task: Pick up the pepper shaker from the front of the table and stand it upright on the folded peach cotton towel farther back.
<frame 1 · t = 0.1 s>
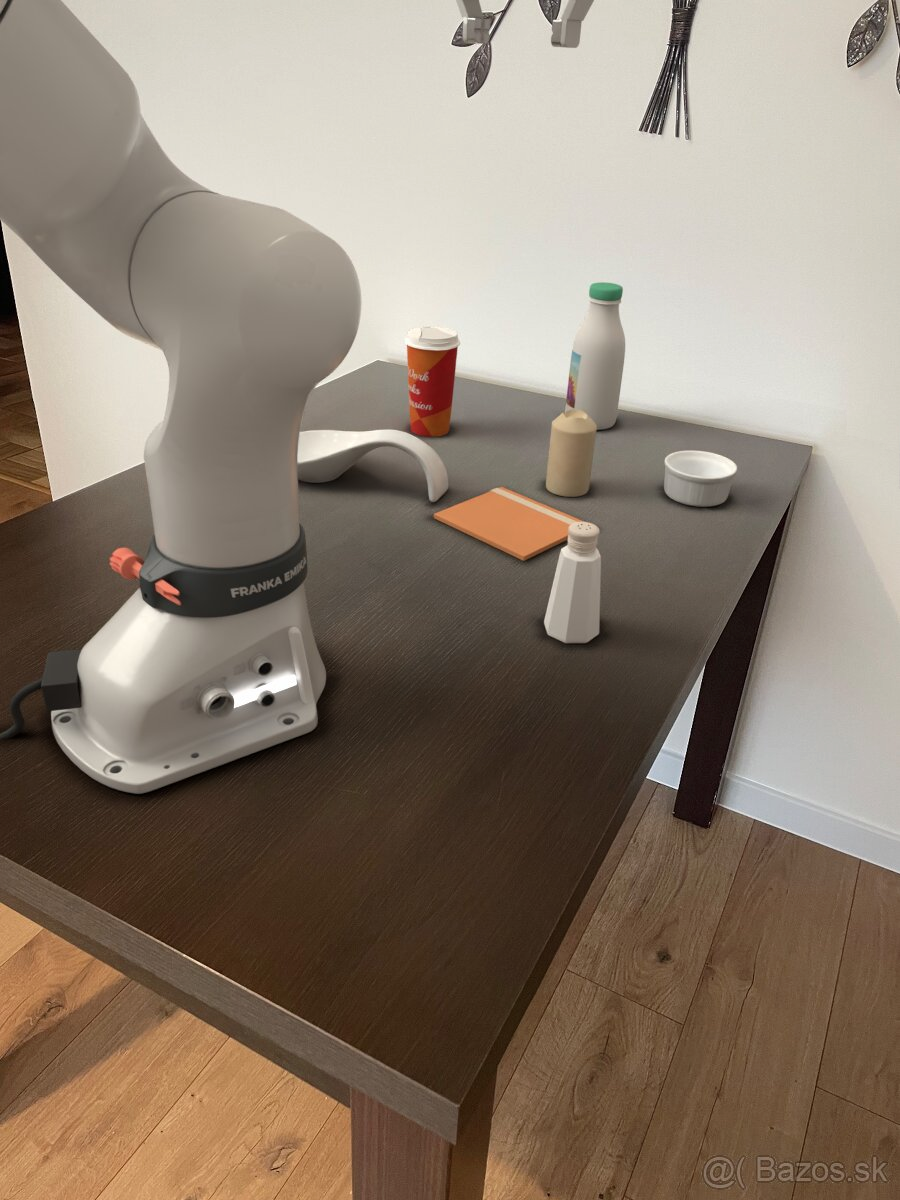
hand: (518, 45, 74), 48 cm above the table, tool pointing down, fingers open, 8 cm apart
pepper shaker: (570, 630, 89), on the table
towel: (511, 523, 108), on the table
milk bottle: (589, 423, 139), on the table
spoon rest: (355, 482, 117), on the table
ramekin: (694, 496, 117), on the table
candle: (566, 489, 117), on the table
paper cup: (429, 431, 133), on the table
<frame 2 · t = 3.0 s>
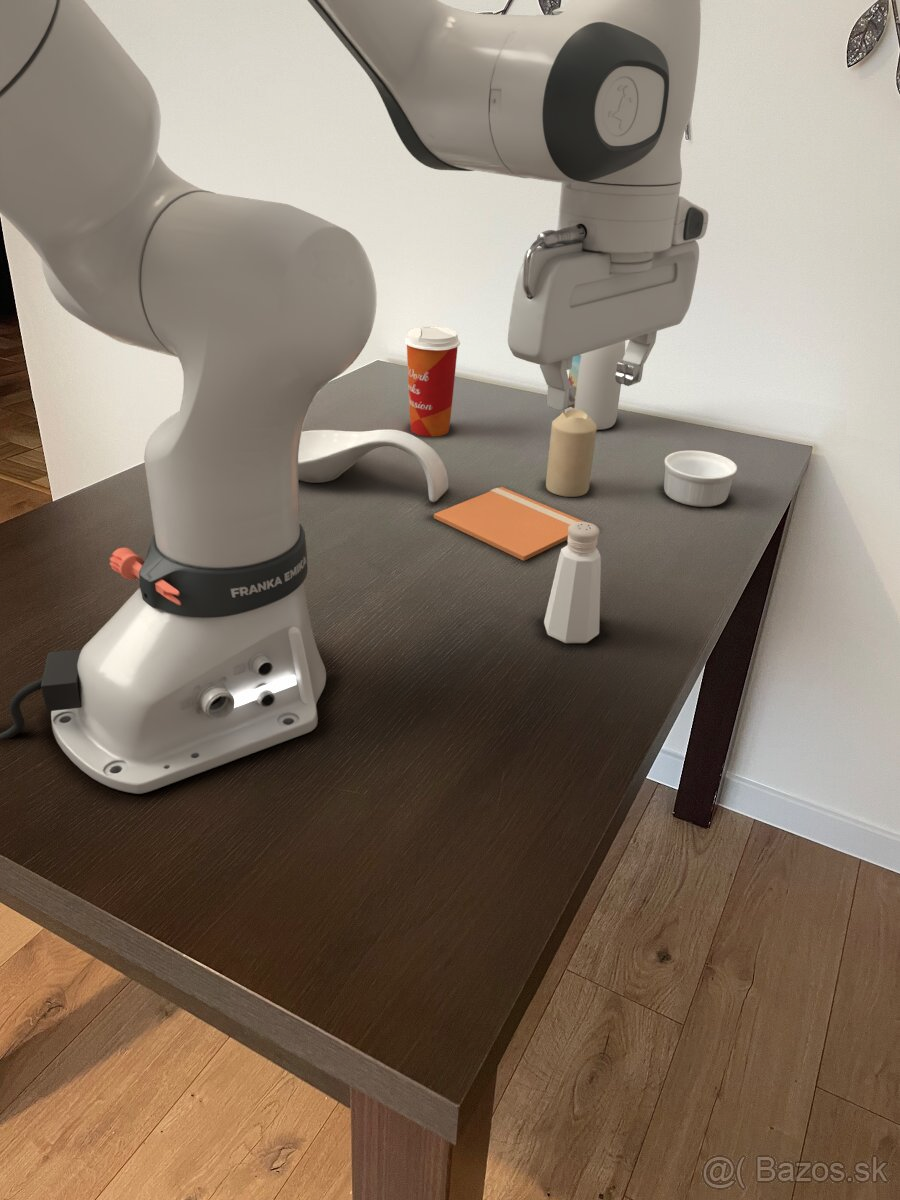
hand: (595, 394, 78), 23 cm above the table, tool pointing down, fingers open, 8 cm apart
nothing on the table moved.
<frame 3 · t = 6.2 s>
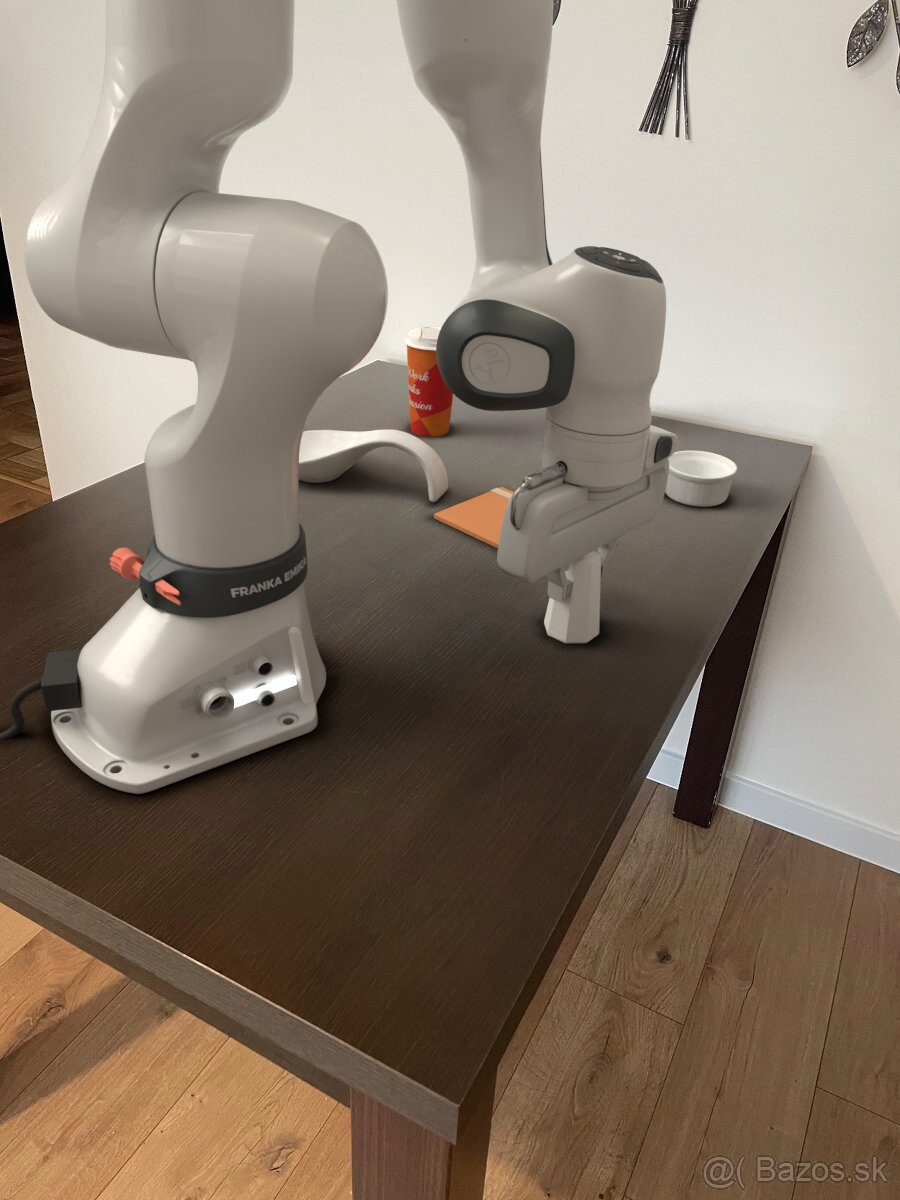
hand: (576, 588, 86), 5 cm above the table, tool pointing down, fingers closed on pepper shaker, 4 cm apart
pepper shaker: (570, 631, 89), on the table, touching gripper
everything else where it was.
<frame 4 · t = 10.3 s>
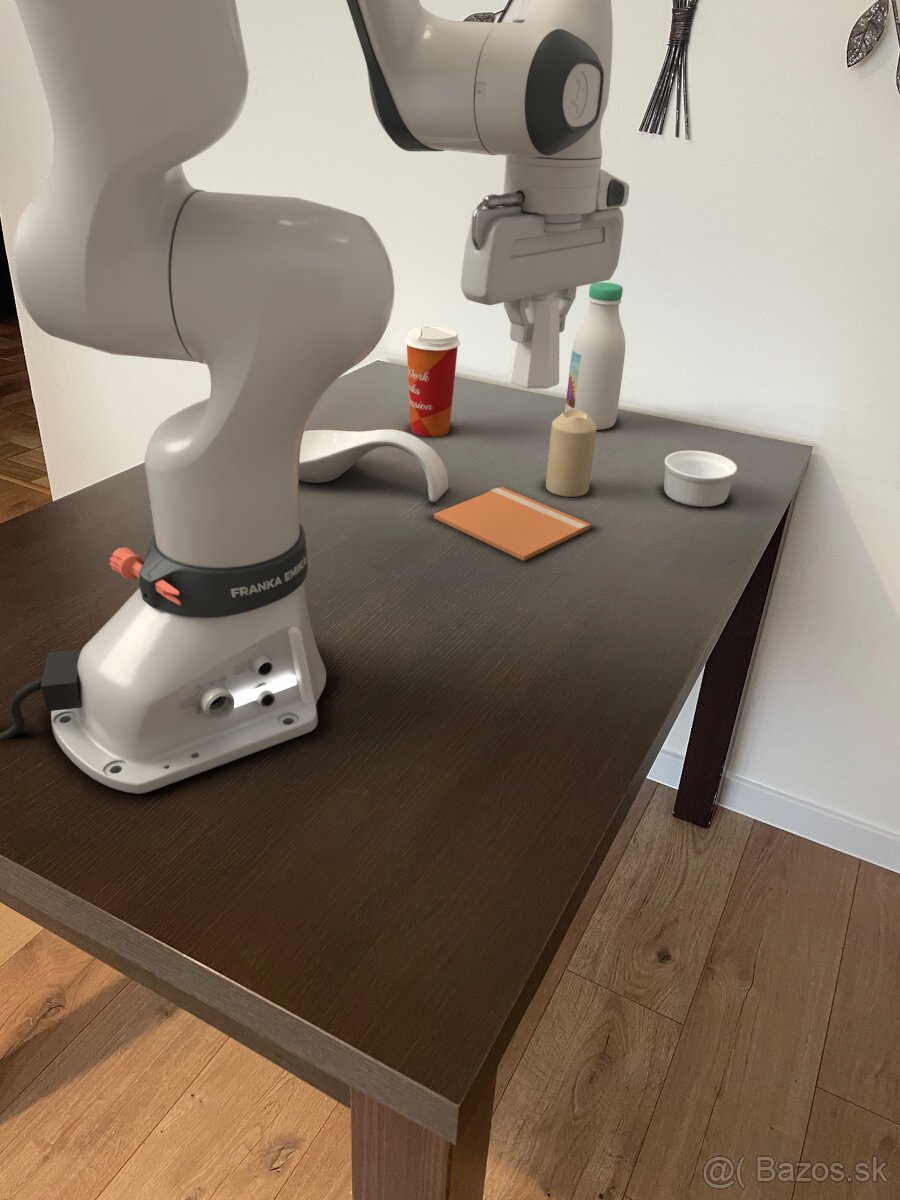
hand: (537, 336, 93), 23 cm above the table, tool pointing down, fingers closed on pepper shaker, 4 cm apart
pepper shaker: (533, 382, 96), point 18 cm above the table, touching gripper
everything else where it was.
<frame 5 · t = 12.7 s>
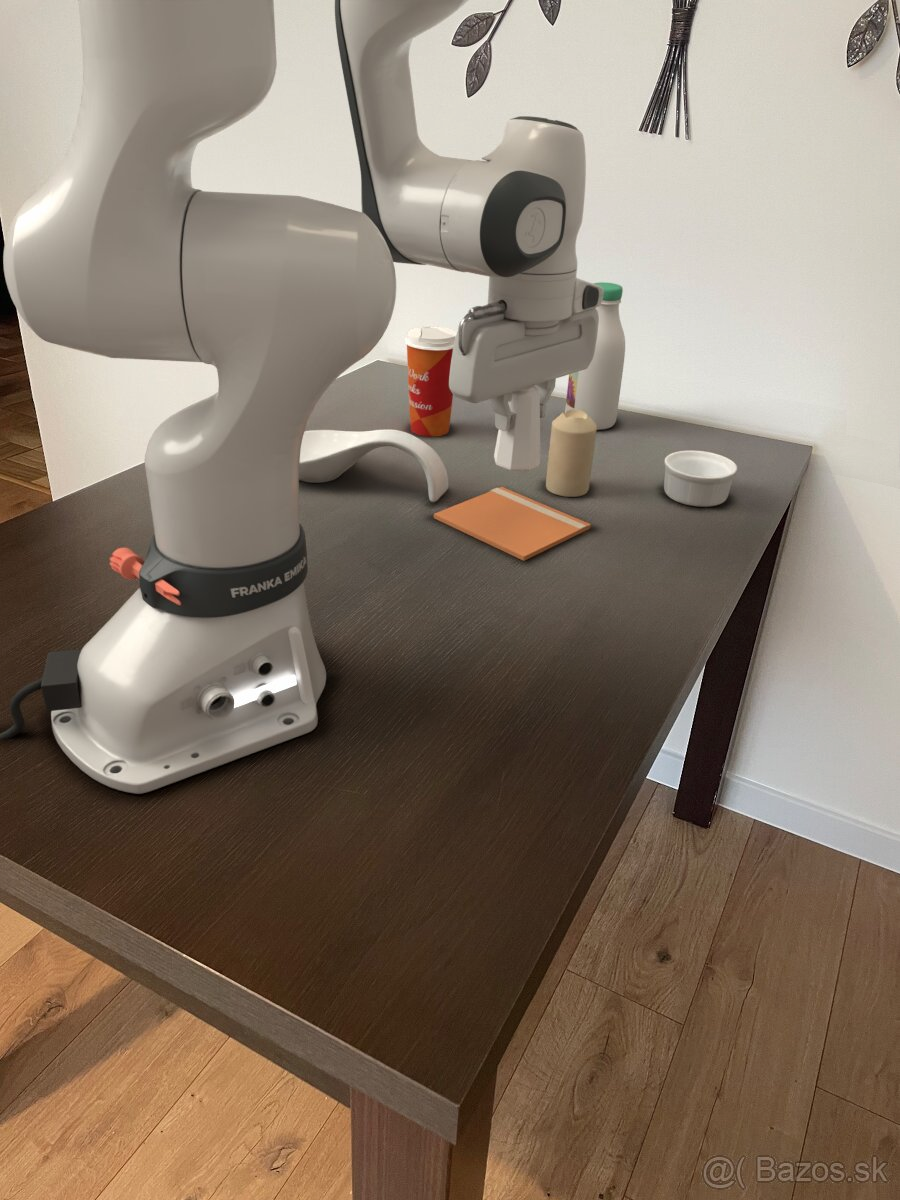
hand: (520, 423, 102), 12 cm above the table, tool pointing down, fingers closed on pepper shaker, 4 cm apart
pepper shaker: (516, 463, 104), point 8 cm above the table, touching gripper
everything else where it was.
when the fingers open (5 cm above the table, at t = 14.7 s): pepper shaker stays where it is, resting on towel.
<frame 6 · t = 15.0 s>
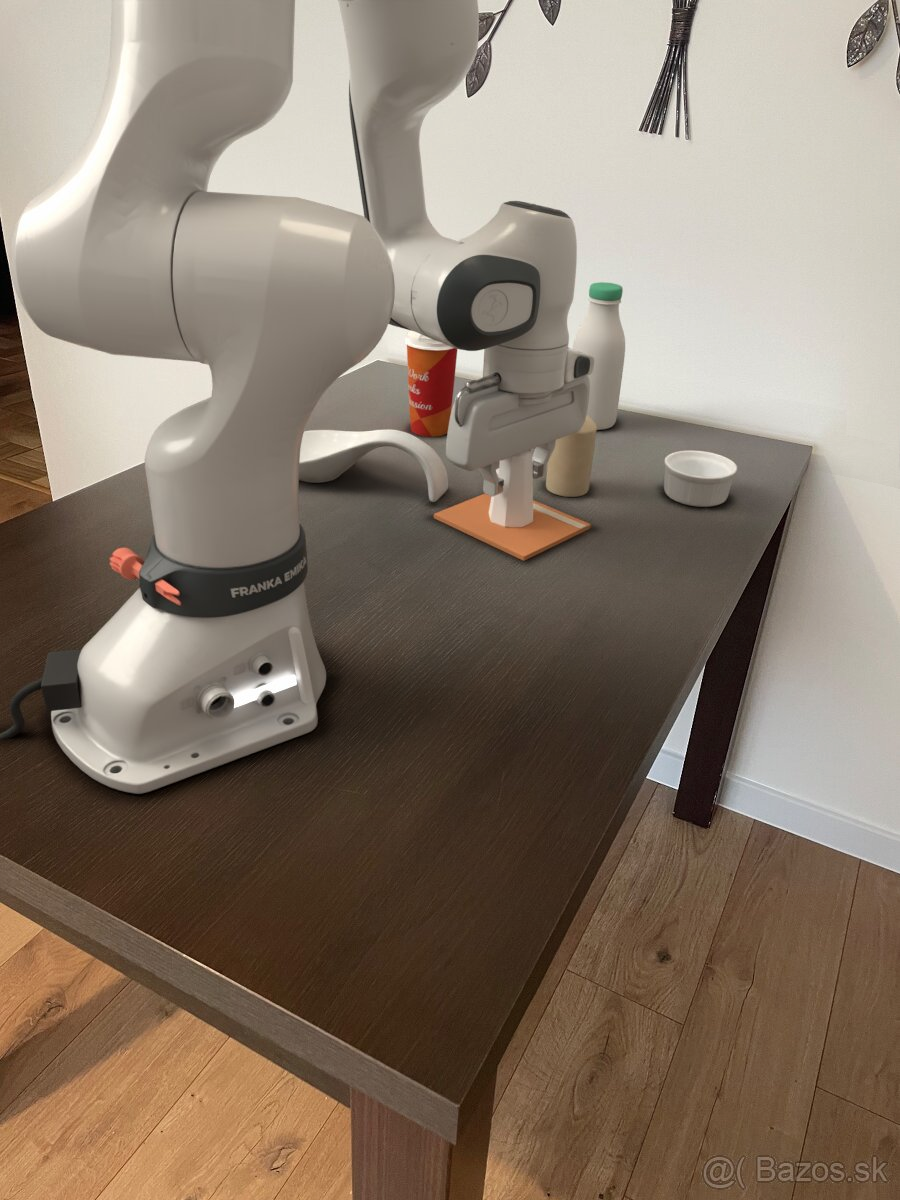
hand: (514, 484, 105), 5 cm above the table, tool pointing down, fingers open, 6 cm apart
pepper shaker: (510, 519, 108), resting on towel
everything else where it was.
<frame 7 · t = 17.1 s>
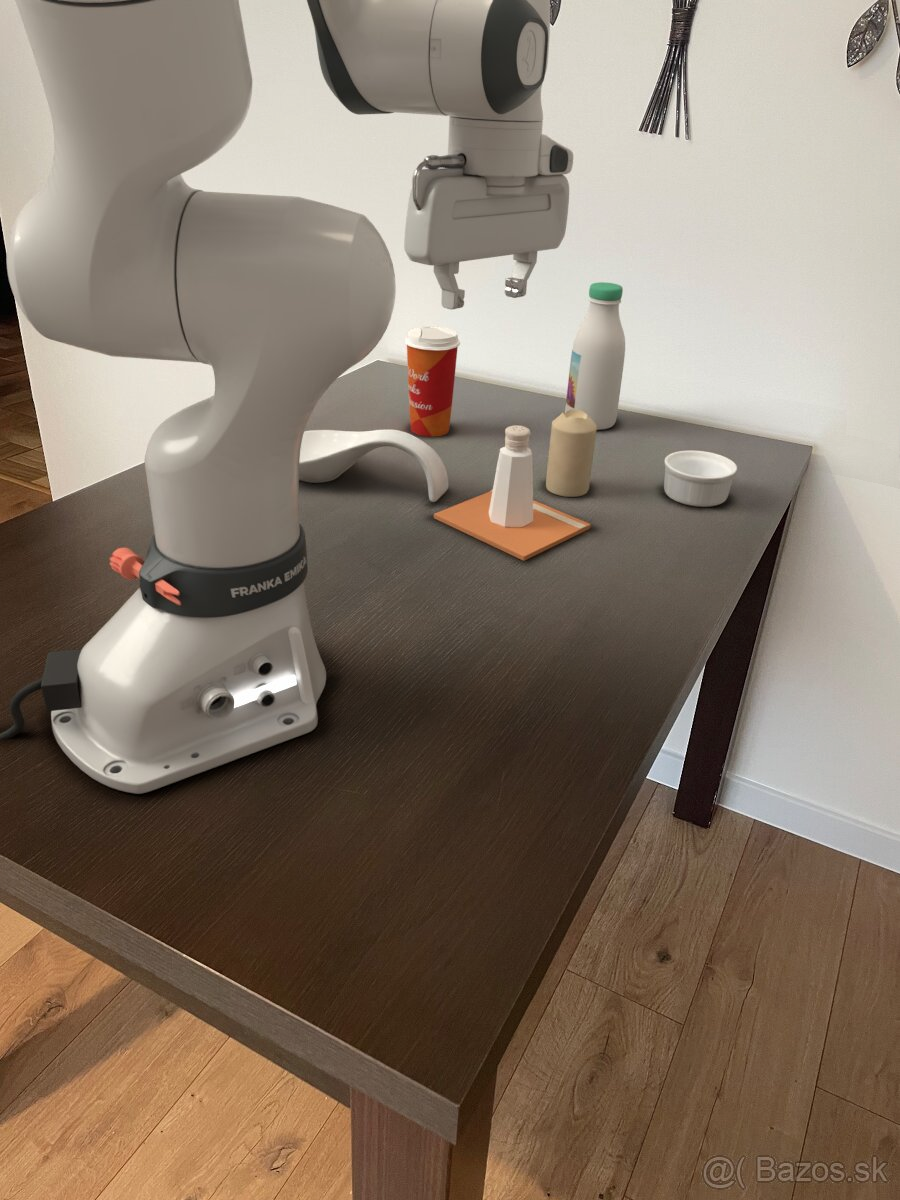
hand: (484, 302, 95), 25 cm above the table, tool pointing down, fingers open, 8 cm apart
nothing on the table moved.
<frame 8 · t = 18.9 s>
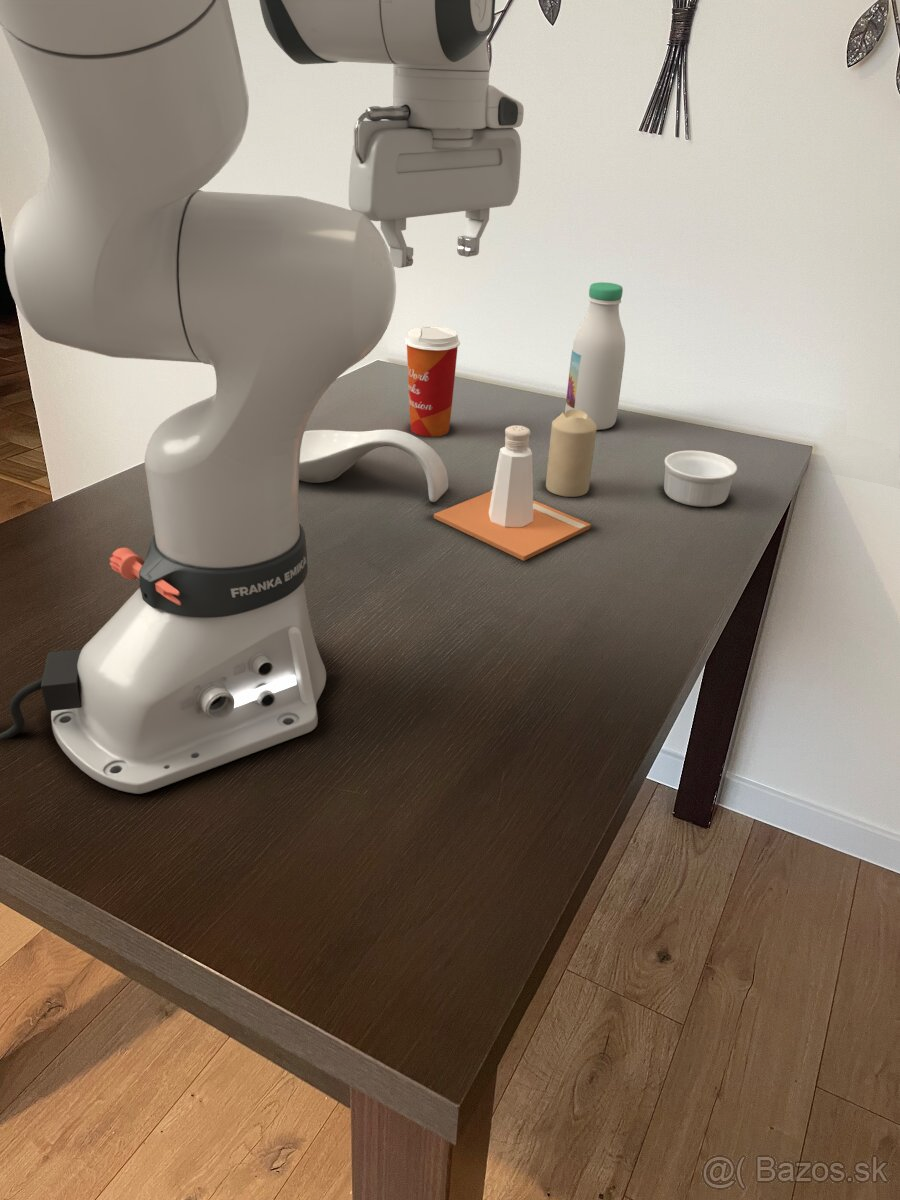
hand: (435, 260, 93), 29 cm above the table, tool pointing down, fingers open, 8 cm apart
nothing on the table moved.
at the end: pepper shaker inside the target area on the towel (0.2 cm from its centre), point 0.4 cm above the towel's base; pepper shaker tilted 0°; the gripper is holding nothing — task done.
